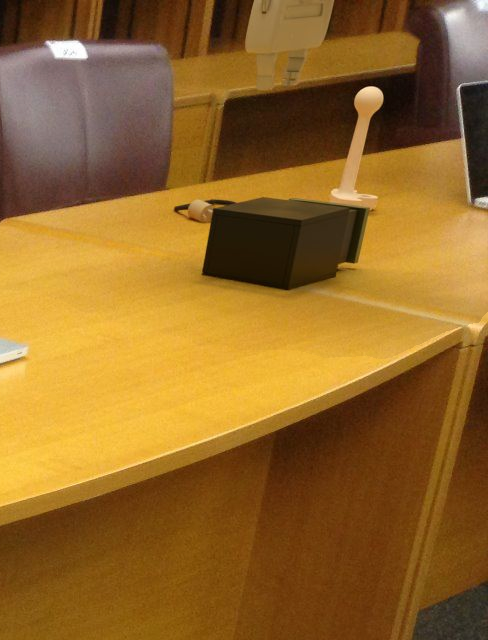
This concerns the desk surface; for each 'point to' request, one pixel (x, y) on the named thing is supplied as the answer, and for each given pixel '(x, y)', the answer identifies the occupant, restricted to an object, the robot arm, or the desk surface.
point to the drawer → (349, 230)
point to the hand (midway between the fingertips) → (277, 87)
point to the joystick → (358, 151)
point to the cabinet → (275, 242)
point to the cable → (202, 209)
